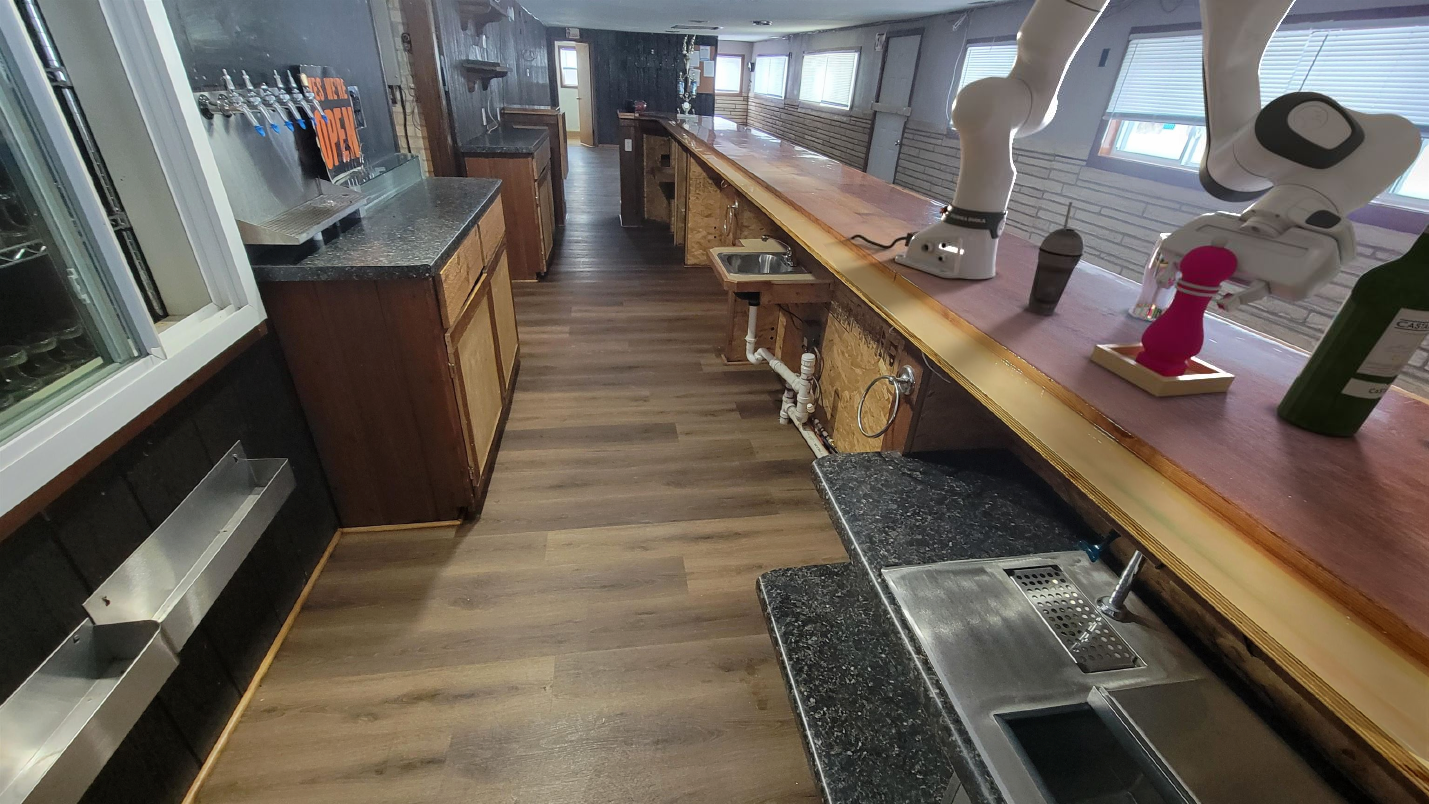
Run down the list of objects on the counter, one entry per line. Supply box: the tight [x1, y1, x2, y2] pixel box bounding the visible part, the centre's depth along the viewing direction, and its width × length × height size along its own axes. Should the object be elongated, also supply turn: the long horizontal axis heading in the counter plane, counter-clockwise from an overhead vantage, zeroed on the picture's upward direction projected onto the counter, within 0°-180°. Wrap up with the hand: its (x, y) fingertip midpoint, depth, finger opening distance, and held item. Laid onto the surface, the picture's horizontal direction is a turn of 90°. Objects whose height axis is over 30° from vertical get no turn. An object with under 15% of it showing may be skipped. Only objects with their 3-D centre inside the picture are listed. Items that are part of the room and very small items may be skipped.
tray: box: [1089, 342, 1236, 398], centre depth 85 cm, size 12×12×2 cm
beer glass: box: [1128, 233, 1182, 323], centre depth 105 cm, size 7×7×15 cm
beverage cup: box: [1027, 201, 1085, 316], centre depth 104 cm, size 7×7×20 cm
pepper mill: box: [1135, 235, 1237, 377], centre depth 80 cm, size 7×7×20 cm
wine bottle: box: [1276, 222, 1429, 438], centre depth 67 cm, size 8×8×30 cm
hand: (1190, 296), depth 79 cm, fingers open, 8 cm apart
